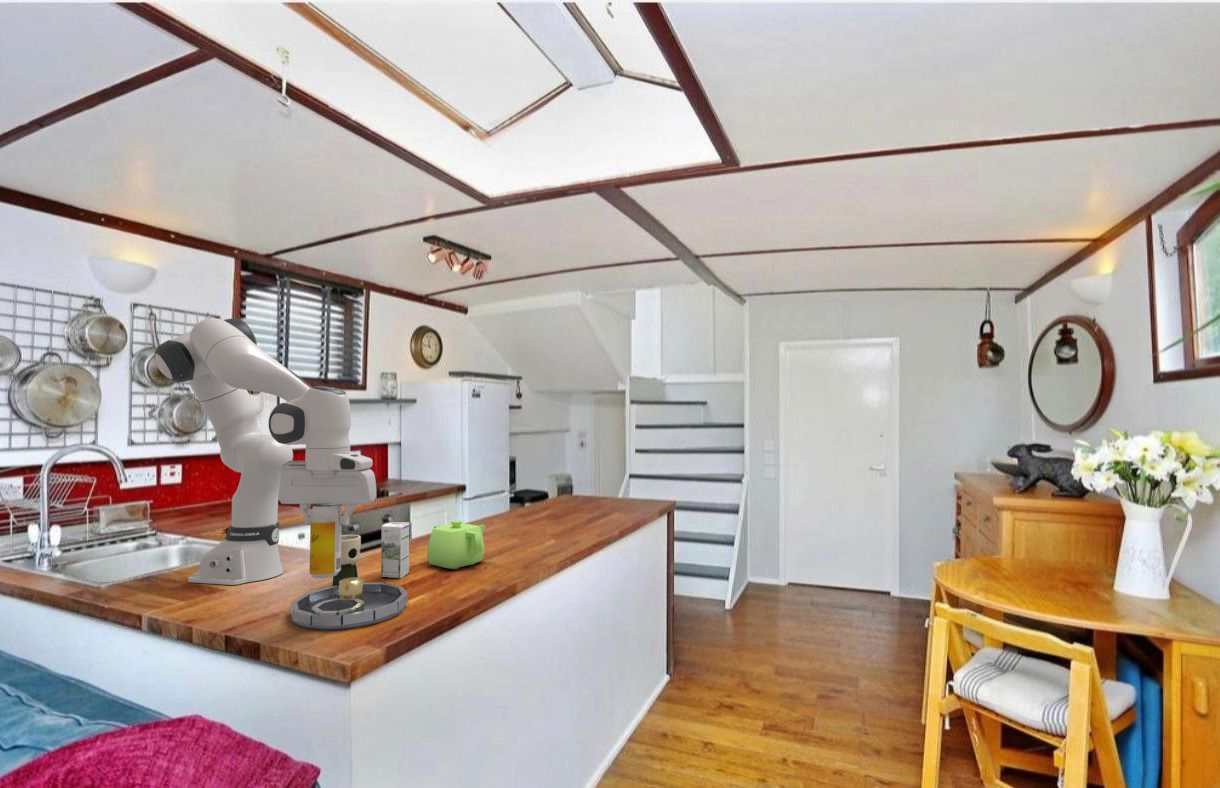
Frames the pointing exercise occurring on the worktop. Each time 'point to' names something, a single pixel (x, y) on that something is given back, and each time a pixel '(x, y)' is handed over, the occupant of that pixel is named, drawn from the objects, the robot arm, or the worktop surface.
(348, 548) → the character mug
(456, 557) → the teapot
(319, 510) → the beer can
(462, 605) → the worktop surface
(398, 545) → the syrup box
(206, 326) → the robot arm
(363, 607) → the tray
